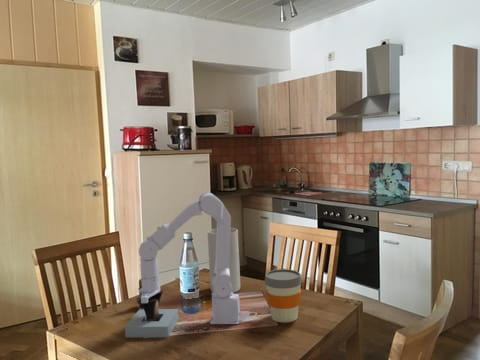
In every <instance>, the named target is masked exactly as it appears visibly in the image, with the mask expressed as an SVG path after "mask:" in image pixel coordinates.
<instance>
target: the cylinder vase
mask: <svg viewBox="0 0 480 360" xmlns="http://www.w3.org/2000/svg"><path fill="white" fill-rule="evenodd" d="M216 231H217V227H216V228H212V229H208V230H207V245H208V249H207V250H208V264H209V265H208V268H209V284H210V285H209V286H210V291H211V293H212V292H213V291H214V288H213V285H212V283H211V279H212V277H213V275H214V269H215V261H216ZM239 248H240V247H239V230H238V229H237V228H235V227H231V230H230V258H229V271H230V282H231V284H232V287H233V289H232V292H233V294H236V293H237V292H238V291H239V290H240V289H241V274H240V273H241V272H240V271H241V269H240V252H239Z"/></svg>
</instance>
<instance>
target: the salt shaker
mask: <svg viewBox="0 0 480 360" xmlns="http://www.w3.org/2000/svg"><path fill="white" fill-rule="evenodd" d="M139 289H142V281H141V279H139V280H138V289H137V290H138V291H139ZM138 293H139V292H138ZM141 297H142V293H139V295H138V297H136V298H135V301H136V303H137V305H138V306H137V307H136V308H137V310H138V311H139V310H144V309H143V307H142V305H141V304H140V302H139V300H140V299H141Z"/></svg>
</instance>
